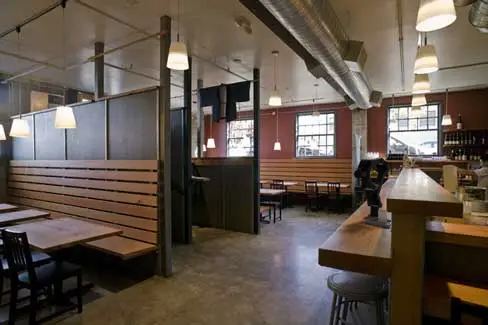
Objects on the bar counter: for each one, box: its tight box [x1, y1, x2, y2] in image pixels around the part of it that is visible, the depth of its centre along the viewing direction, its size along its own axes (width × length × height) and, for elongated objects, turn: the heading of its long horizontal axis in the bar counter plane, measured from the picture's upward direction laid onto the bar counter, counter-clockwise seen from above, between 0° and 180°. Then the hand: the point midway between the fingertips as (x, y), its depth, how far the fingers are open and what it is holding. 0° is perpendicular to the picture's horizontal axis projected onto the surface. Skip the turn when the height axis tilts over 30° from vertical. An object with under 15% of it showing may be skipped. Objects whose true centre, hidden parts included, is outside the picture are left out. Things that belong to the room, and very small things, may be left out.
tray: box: [364, 216, 392, 229], centre depth 197 cm, size 15×15×2 cm
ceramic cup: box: [377, 209, 388, 224], centre depth 197 cm, size 5×5×8 cm
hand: (364, 200), depth 213 cm, fingers open, 9 cm apart
